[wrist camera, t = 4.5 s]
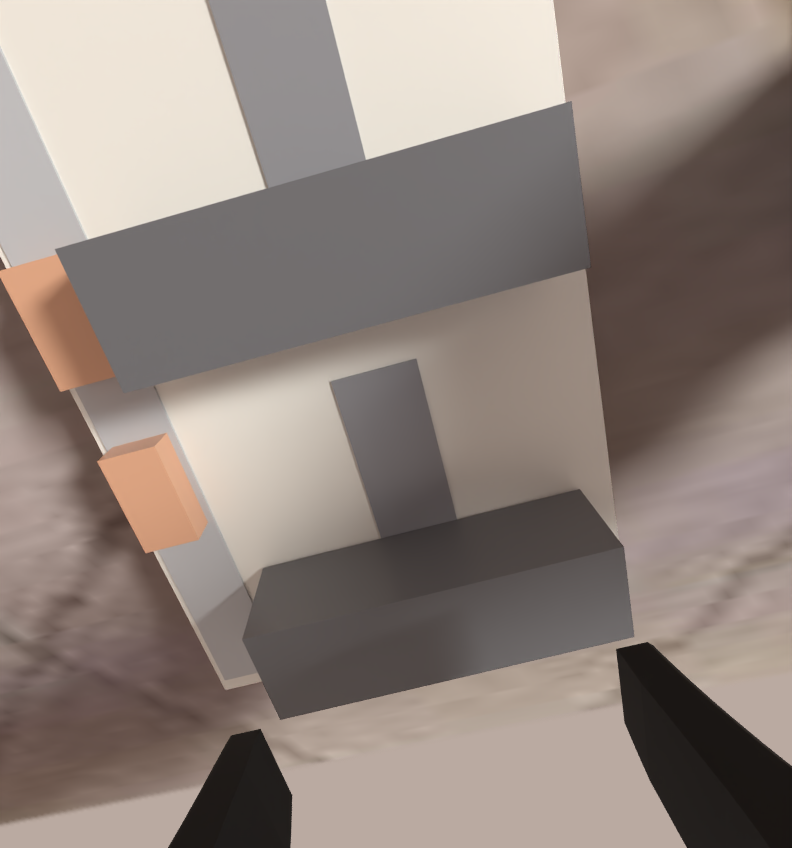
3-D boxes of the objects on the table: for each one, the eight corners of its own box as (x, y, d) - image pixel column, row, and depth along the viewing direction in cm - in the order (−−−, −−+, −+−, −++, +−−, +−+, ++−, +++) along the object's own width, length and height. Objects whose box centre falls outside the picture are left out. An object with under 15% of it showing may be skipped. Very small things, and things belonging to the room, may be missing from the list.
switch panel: (378, -1053, 8) (384, -1693, 6) (601, 558, 20) (639, 616, 17) (-430, -729, 9) (-789, -1149, 6) (238, 646, 20) (217, 715, 18)
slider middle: (526, 125, 12) (571, 101, 10) (545, 255, 14) (591, 267, 11) (121, 240, 13) (54, 248, 10) (172, 357, 14) (123, 393, 11)
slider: (579, 489, 16) (623, 546, 13) (591, 568, 17) (633, 636, 15) (262, 568, 17) (242, 639, 14) (293, 639, 18) (280, 720, 15)
